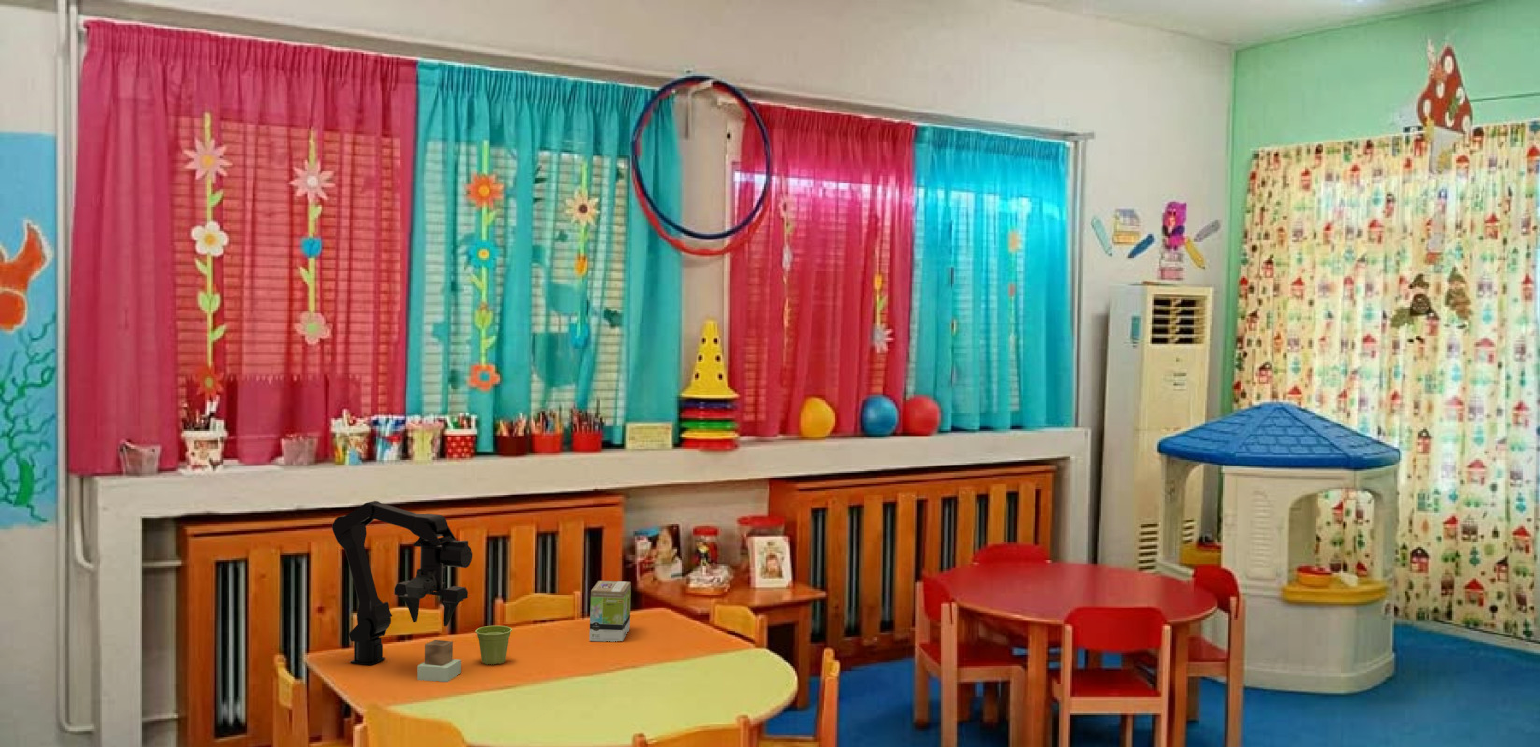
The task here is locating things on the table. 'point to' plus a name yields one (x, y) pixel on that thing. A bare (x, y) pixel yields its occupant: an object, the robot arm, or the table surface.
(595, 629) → the tea box
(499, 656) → the plant pot
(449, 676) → the sage block
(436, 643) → the walnut cube
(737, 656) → the table surface
